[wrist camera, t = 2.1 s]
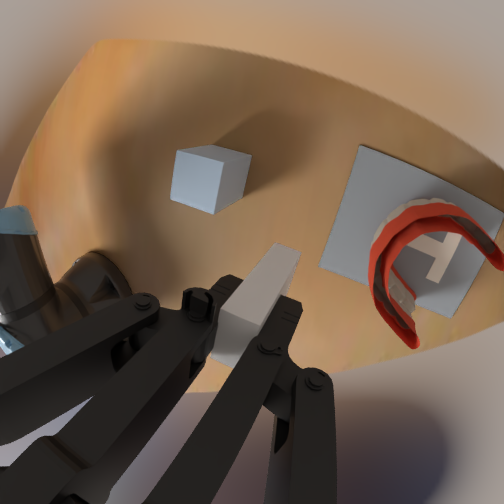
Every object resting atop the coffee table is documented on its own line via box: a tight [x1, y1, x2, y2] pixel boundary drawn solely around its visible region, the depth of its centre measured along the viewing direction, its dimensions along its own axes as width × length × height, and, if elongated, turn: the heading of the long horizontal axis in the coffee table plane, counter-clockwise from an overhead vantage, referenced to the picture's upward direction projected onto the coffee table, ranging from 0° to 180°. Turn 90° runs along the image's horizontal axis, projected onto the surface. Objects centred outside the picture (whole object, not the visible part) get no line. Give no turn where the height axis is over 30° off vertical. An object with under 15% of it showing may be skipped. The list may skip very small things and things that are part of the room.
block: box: [170, 145, 252, 215], centre depth 29 cm, size 5×5×7 cm
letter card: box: [318, 145, 504, 319], centre depth 27 cm, size 18×14×1 cm
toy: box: [368, 198, 504, 349], centre depth 24 cm, size 13×10×8 cm
